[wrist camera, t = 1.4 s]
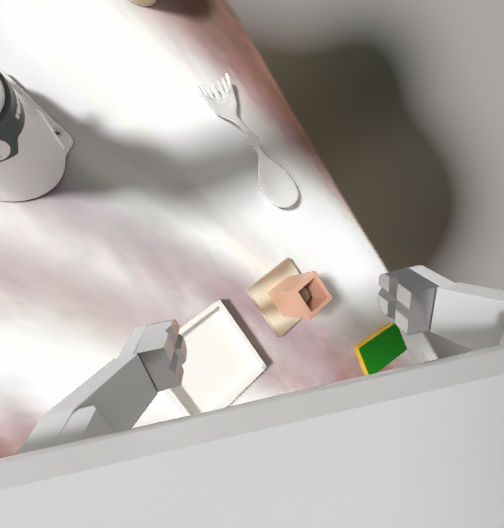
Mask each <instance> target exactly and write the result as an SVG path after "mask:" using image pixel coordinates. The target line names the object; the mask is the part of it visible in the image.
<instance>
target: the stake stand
mask: <svg viewBox="0 0 504 528" xmlns="http://www.w3.org/2000/svg"><path fill="white" fill-rule="evenodd" d="M297 274H300V273H299V272H298V270H297V269H296V267H295V266H294V264H293V263H292V261H291V260H290V258H287V259H285V260H284V261H282V262H281V263H280V264H279V265H277V266H276V267H275V268H273V269H272V270H271V271H269V272H268V273H267V274H266V275H264V276H263V277H262V278H260V279H259V280H258V281H257V282H255V283H254V284H253V285H251V286H250V287H249V288H248V289H246V291H247V293H248V294H249V296H250V297H251V299H252V300H253V302H254V303H255V305H256V306H257V307H258V309H259V310H260V312H261V313H262V315H263V316H264V318H265V319H266V321H267V322H268V323H269V325H270V326H271V328H272V329H273V331H274V332H275V334H276V335H277V337H282V336H283V335H284V334H285V333H286V332H287V331H288V330H289V329H290V328H291V327H292V326H293V325H295V324H296V323H297V322H298V321H299V320H300V319H301V318H293V317H284V316H282V314H281V313H280V311H279V310H278V308H277V307H276V305H275V304H274V302H273V301H272V299H271V298H270V297H269V295H268V294H267V293H268V292H269V291H270V290H271V289H273V288H274V287H275V286H276V285H278V284H279V283H280V282H281V281H282V280H284V279H285V278H286V277H288V276H293V275H297ZM298 293H299V294H300V296H301V297H302V299H303V300H304V302H305V303H306V302H307V301H308V300H309V298H310V293H309V291H308V289H306V288H302V289H300V290H299V291H298Z"/></svg>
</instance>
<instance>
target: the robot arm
mask: <svg viewBox="0 0 504 528" xmlns="http://www.w3.org/2000/svg"><path fill="white" fill-rule="evenodd" d="M58 133H60V135H56V134H58ZM72 145H73V139H72V138H71V137H70V135H69V134H68V133H67V132H66V131H65V130H64V129H63V128H62V127H61V126H60V125H59V124H58V123H57V122H56V121H55V120H54V119H53V118H51V117H50V116H49V115H48V114H47V113H46V112H45V111H44V110H43V109H42V108H41V107H40V106H39V105H38V104H37V103H36V102H35V101H34V100H33V99H32V98H31V97H30V96H29V95H28V94H27V93H26V92H25V91H24V90H23V89H22V88H21V87H20V86H19V85H18V84H17V83H15V82H14V81H13V80H12V79H11V78H10V77H9V76H8V75H7V74H6V73H5V72H4V71H3V70H1V69H0V201H9V202H15V201H25V200H30V199H33V198H37V197H39V196H41V195H43V194H45V193H47V192H49V191H50V190H51V189H53V188H54V187H55V186H56V185H57V184H58V182H59V181H60V180H61V178H62V176H63V173H64V170H65V161H66V155H67V153H68V152H69V150H70V149H71V147H72ZM379 285H380V286H381V287H382V289H381V290H380V292H379V293H378V302H379V305H380V308H381V309H382V311H383V312H384V313H385V314H386V315H387V316H388V317H391V318H394V319H395V324H396V325H397V326H398V327H399V328H400V329H401V330H402V331H403V332H404V333H405V334H406V335H410V334H415V333H420V332H426V331H430V332H432V333H434V334H437V335H439V336H441V337H443V338H445V339H448V340H450V341H452V342H454V343H456V344H459V345H461V346H463V347H465V348H467V349H470V350H472V352H467V353H463V354H459V355H454V356H450V357H446V358H441V359H436V360H432V361H428V362H423V363H419V364H414V365H410V366H405V367H401V368H396V369H392V370H388V371H383V372H379V373H374V374H370V375H365V376H361V377H357V378H352V379H348V380H343V381H339V382H335V383H330V384H326V385H321V386H317V387H313V388H308V389H304V390H300V391H295V392H291V393H286V394H282V395H278V396H273V397H269V398H265V399H260V400H256V401H251V402H247V403H243V404H238V405H234V406H229V407H225V408H221V409H216V410H212V411H207V412H203V413H199V414H194V415H190V416H185V417H181V418H177V419H172V420H168V421H163V422H159V423H155V424H150V425H146V426H141V427H137V428H133V429H131V428H132V427H133V426H134V424H135V423H136V422H137V420H138V419H139V418H140V416H141V415H142V414H143V412H144V411H145V410H146V408H147V407H148V406H149V404H150V403H151V402H152V400H153V399H154V397H155V396H156V395H157V393H158V392H159V391H163V390H167V389H171V388H175V387H178V386H181V383H182V378H183V373H184V369H183V367H182V365H183V364H184V363H185V361H186V357H187V347H186V343H185V340H184V337H183V336H181V335H180V334H178V333H179V329H180V327H179V325H178V323H177V321H176V320H175V319H173V320H168V321H163V322H158V323H153V324H149V325H143V326H139V327H136V328H134V329H133V331H132V333H131V335H130V337H129V339H128V340H127V342H126V344H125V346H124V348H123V350H122V352H121V353H120V355H119V357H118V358H116V359H113V360H112V361H111V362H109V363H108V364H107V365H106V366H104V367H103V368H102V369H101V370H99V371H98V372H97V373H96V374H94V375H93V376H92V377H91V378H89V379H88V380H87V381H86V382H84V383H83V384H82V385H81V386H79V387H78V388H77V389H76V390H75V391H73V392H72V393H71V394H70V395H68V396H67V397H66V398H65V399H63V400H62V401H61V402H60V403H58V404H57V405H56V406H55V407H53V408H52V409H51V410H50V411H48V412H47V413H46V414H45V415H43V417H42V418H41V420H40V421H39V422H38V424H37V425H36V427H35V428H34V429H33V431H32V432H31V434H30V435H29V437H28V438H27V439H26V441H25V442H24V444H23V445H22V446H21V448H20V449H19V451H18V452H17V454H16V455H13V456H9V457H5V458H0V528H504V291H502V290H497V289H492V288H486V287H481V286H476V285H470V284H465V283H454V282H451V281H450V280H448V279H446V278H445V277H443V276H441V275H439V274H437V273H435V272H433V271H431V270H430V269H428V268H426V267H424V266H421V265H417V266H413V267H409V268H405V269H401V270H398V271H393V272H389V273H385V274H381V275H380V277H379Z"/></svg>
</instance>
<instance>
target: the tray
mask: <svg viewBox="0 0 504 528" xmlns="http://www.w3.org/2000/svg"><path fill="white" fill-rule="evenodd" d="M178 334H180V335H181V336H183V337H184V340H185V343H186V347H187V357H186V361H185V363H184V364H183V365H182V367H183V369H184V373H183V378H182V383H181V386H178V387H175V388H171V389H167V390H164V391H165V392H166V393H167V395H168V396H169V397H170V399H171V400H172V401H173V403H174V404H175V405H176V407H177V408H178V409H179V410H180V412H181V413H182V414H183V416H184V417H185V416H190V415H194V414H199V413H203V412H207V411H212V410H216V409H221V408H225V407H227V406H228V405H229V404H230V403H231V402H232V401H233V400H234V399H235V398H236V397H237V396H238V395H239V394H240V393H241V392H242V391H243V390H244V389H245V388H246V387H247V386H248V385H249V384H250V383H251V382H252V381H253V380H254V379H256V378H257V377H258V376H259V375H260V374H261V373H262V372H263V371H264V370H265V369H266V368H267V366H266V365H265V363H264V362H263V360H262V359H261V358H260V356H259V355H258V353H257V352H256V350H255V349H254V348H253V346H252V345H251V343H250V342H249V340H248V339H247V338H246V336H245V335H244V333H243V332H242V330H241V329H240V328H239V326H238V325H237V323H236V322H235V320H234V319H233V318H232V316H231V315H230V313H229V312H228V310H227V309H226V308H225V306H224V305H223V303H222V302H221V300H220V299H219V300H216V301H214V302H213V303H212V304H210V305H209V306H208V307H206V308H205V309H204V310H202V311H201V312H200V313H198V314H197V315H196V316H194V317H193V318H192V319H190V320H189V321H188V322H186V323H185V324H184V325H182V326H181V327H180V329H179V333H178Z"/></svg>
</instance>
